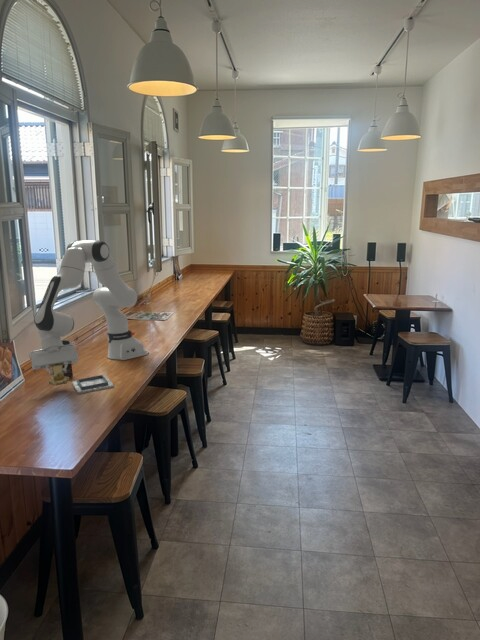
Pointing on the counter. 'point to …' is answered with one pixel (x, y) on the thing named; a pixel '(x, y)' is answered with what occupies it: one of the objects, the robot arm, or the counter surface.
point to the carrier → (92, 384)
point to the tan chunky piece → (58, 375)
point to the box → (68, 370)
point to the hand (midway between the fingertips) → (58, 373)
